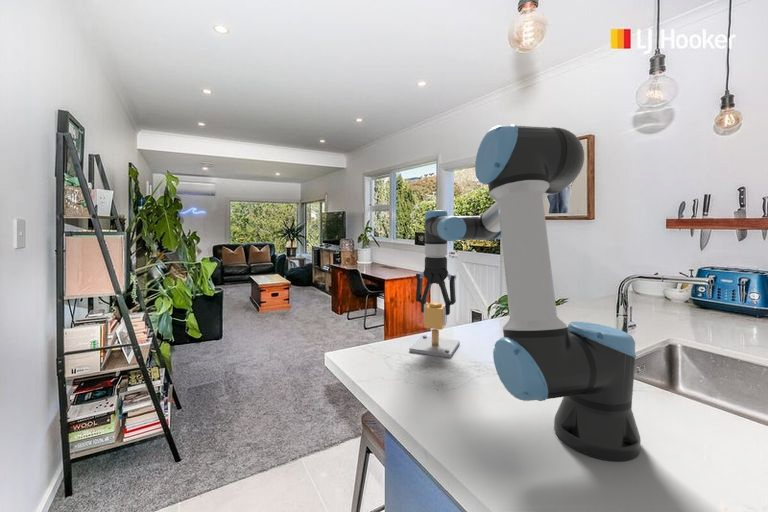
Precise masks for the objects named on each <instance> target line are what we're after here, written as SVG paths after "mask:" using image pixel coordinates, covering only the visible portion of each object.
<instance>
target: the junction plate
mask: <svg viewBox="0 0 768 512" xmlns="http://www.w3.org/2000/svg"><path fill="white" fill-rule="evenodd" d="M460 343H461V342H460V340H457V339H449V338H441V337H440V329H433V328H432V329H431V336H427V335H422V336H420V337H419V338H418V339H417V340H416V341H415V343H412V345H411V346H410V347H409V350H408V351H409V353H417V354H422V355H423V354H424V355H429V356H435V357H444V358H450V359H451V357H453V355H454V353H455V351H457V349H458V347H459V345H460Z"/></svg>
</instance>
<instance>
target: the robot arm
mask: <svg viewBox="0 0 768 512" xmlns="http://www.w3.org/2000/svg"><path fill="white" fill-rule="evenodd" d="M474 162H475V164H474V170H475V177H476V178H477V181H478V183H481V184H483V185H485V186H486V185H488V194H489V197H490V198H491V199H493V200H494V201H495V202H494V203H493V204H492V205H491V206H490V207H489V208H487V209H486V210H485V211H484V212H482V214H481V215H448V211H447V210H444V209H442V210H441V209H440V210H439V209H437V210H436V209H435V210H427V211H426V212H425V214H424V220H423V221H424V255H425V257H424V270H423V271H422V272H418V273H416V274H415V278H416V292H415V301H416V302H419V303H420V307H421V308H420V312H421V314H422V313H423V314H424V307H426V306H427V305H428V304H429V302H427V300H428V297H429V294H430V290H431V287H432V285H433V284H436V285H439V288H440V292H441V295H442V298H443V302H444V304H443V305H444V306H443V325H445V326H446V325H447V324H448V316H449V315H450V313H451V306H452V305H454V304H455V303H456V302H457V301H456V298H457V297H456V282H455V281H456V278H457V275H456V274H453V273H449V271H448V258H447V255H448V242H456V241H473V240H474V241H475V240H477V241H478V240H480V241H483V240H484V241H487V240H489V241H494V240H500V239H501V247H502V254H503V255H502V256H503V263H504V266H503V267H504V274H505V275H504V276H505V284H506V285H505V287H506V293H507V304H508V305H507V306H508V313H509V318H508V321H507V322H506V323H505V324H504V325H503V327H502V332H503V337H501V338H499V339H498V340H496V342H495V343H494V347H493V351H492V353H493V354H492V355H493V363H494V367H495V371H496V374H497V376H498V377H499V381H500V382H501V384H502V385H503V386H504V388H505V390H506V391H507V392H508V393H509V394H511V396H513V397H514V398H516V399H517V400H520V401H524V402H529V401H530V402H531V401H539V402H542V401H546V400H551V399H557V398H562V400H561V402H560V404H559V406H558V408H557V411H556V413H555V415H554V421H553V423H554V425H553V430H554V433H555V434H556V436H557V437H558V438H559V439H560V440H561V441H562V442H563V443H564V444H566V445H567V446H568V447H570V448H571V449H573V450H575V451H577V452H579V453H581V454H584V455H587V456H589V457H593V458H595V459H601V460H604V461H605V460H606V461H614V462H615V461H616V462H624V461H629V460H632V459H635V458H637V456H638V455H640V452H641V441H642V440H641V435H640V433H639V429H638V425H637V423H636V420H635V415H634V413H633V409H632V408H633V406H632V405H633V394H634V383H635V382H634V380H635V366H636V358H637V355H636V342H635V339H634V338H633V336H632V335H631V334H629V333H627V332H626V331H624V330H621V329H618V328H615V327H611V326H607V325H604V324H600V323H599V324H598V323H593V322H588V321H578V320H577V321H571V322H569V323H568V324H567V323H565V322H564V321H563V320H561V319H560V318H559V316H558V312H557V304H556V296H555V288H554V279H553V273H552V265H551V255H550V246H549V240H548V239H549V238H548V231H547V222H546V221H547V220H546V214H545V205H544V199H545V198H547V196H549V195H551V196H552V195H556V194H559V193H561V192H562V191H563V190H564V189H565V190H566V188H568V187H569V186H570V185H571V184H572V183H573V182H574V181H575V180H576V179H577V177H578V176H579V175H580V173H581V171H582V169H583V167H584V162H585V150H584V146H583V144H582V142H581V140H580V139H579V138H578V136H577V135H576V134H574V133H573V132H571V131H570V130H568V129H566V128H561V127H555V126H553V127H552V126H551V127H547V126H544V127H543V126H527V125H526V126H525V125H516V124H514V123H513V124H509V125H508V124H507V125H506V124H505V125H502V124H500V125H495V126H494V127H491V128H490V129H489V130H488V131H487V132H486V133H485V135H484V136H483V137H482V140H481V141H480V144H479V147H478V149H477V153H476V155H475V161H474ZM424 277H425V279H426V282H425V283H426V285H425V288H424V291H423V282H424V281H423V279H424ZM446 279H447V280H448V281H449V293H448V290H447V286H446V282H445V280H446Z"/></svg>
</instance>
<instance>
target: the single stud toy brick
mask: <svg viewBox="0 0 768 512" xmlns="http://www.w3.org/2000/svg"><path fill="white" fill-rule="evenodd" d="M444 305H445V304H443V303H442V302H437V301H436V302H434V301H433V302H428V305H427V306H426V307H424V313H423V323H424V326H423V327H424V328H426V329H432V330H433V329H437V330H442V331H443V329H444V328H445V326H446V325H443V306H444Z"/></svg>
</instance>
